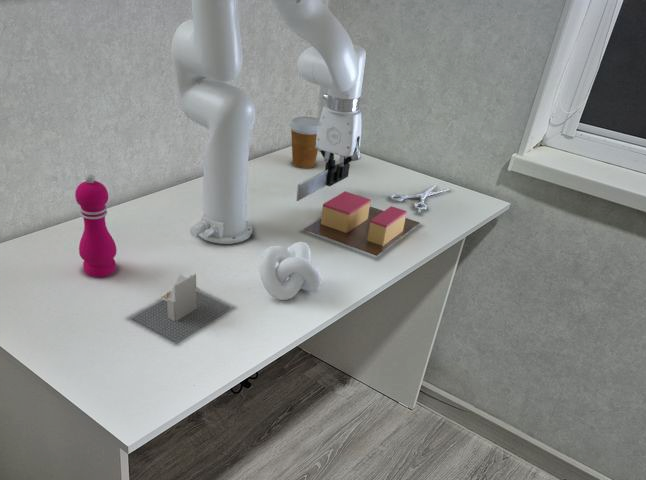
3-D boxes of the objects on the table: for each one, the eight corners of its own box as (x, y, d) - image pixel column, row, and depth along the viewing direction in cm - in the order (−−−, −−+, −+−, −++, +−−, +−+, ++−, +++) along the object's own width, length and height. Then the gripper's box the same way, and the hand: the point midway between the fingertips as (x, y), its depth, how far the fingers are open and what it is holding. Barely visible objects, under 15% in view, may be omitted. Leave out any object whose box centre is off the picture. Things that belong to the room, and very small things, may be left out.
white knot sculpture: (276, 313, 120) (280, 271, 115) (245, 283, 128) (246, 242, 123) (326, 298, 125) (331, 258, 120) (292, 271, 133) (296, 231, 128)
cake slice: (382, 246, 143) (386, 225, 140) (367, 240, 144) (370, 220, 141) (403, 231, 149) (407, 211, 146) (387, 225, 151) (391, 205, 148)
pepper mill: (82, 280, 126) (70, 182, 114) (80, 262, 132) (68, 167, 120) (120, 277, 128) (111, 180, 116) (116, 259, 133) (107, 165, 121)
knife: (300, 202, 150) (302, 186, 147) (293, 199, 151) (294, 183, 148) (348, 176, 164) (350, 161, 162) (340, 174, 165) (342, 159, 163)
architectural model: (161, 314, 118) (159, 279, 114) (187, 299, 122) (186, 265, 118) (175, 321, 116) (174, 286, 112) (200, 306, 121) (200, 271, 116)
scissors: (384, 198, 164) (428, 178, 176) (384, 200, 164) (427, 181, 176) (419, 212, 158) (462, 191, 170) (418, 215, 159) (461, 193, 170)
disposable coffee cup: (282, 159, 185) (285, 116, 177) (313, 157, 187) (317, 115, 180) (293, 171, 177) (297, 127, 170) (325, 169, 180) (330, 126, 173)
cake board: (376, 259, 139) (377, 255, 139) (303, 232, 148) (303, 229, 147) (419, 225, 154) (420, 222, 153) (350, 203, 162) (351, 200, 162)
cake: (346, 233, 147) (349, 212, 144) (320, 224, 150) (322, 203, 147) (367, 219, 153) (370, 199, 150) (342, 210, 157) (345, 191, 154)
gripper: (305, 99, 151) (299, 174, 162) (365, 114, 144) (354, 192, 155) (322, 92, 156) (315, 166, 167) (381, 107, 149) (369, 183, 160)
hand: (334, 178), depth 161 cm, fingers closed on knife, 2 cm apart
